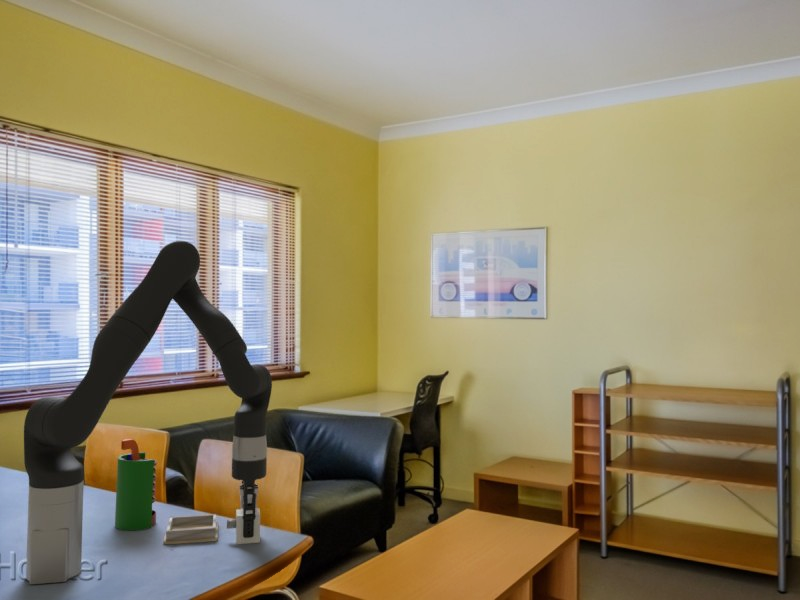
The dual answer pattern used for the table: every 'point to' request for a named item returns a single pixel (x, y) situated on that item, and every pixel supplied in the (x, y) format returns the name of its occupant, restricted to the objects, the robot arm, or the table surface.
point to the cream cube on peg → (239, 527)
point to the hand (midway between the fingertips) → (247, 532)
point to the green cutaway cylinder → (135, 489)
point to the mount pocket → (191, 529)
